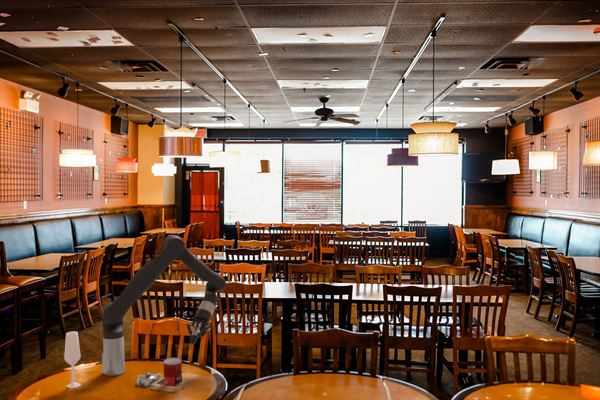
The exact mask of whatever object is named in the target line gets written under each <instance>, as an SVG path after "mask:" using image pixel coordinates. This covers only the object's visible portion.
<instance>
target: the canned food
mask: <svg viewBox="0 0 600 400" xmlns="http://www.w3.org/2000/svg"><path fill="white" fill-rule="evenodd" d="M182 363H183V362H182V359H181V358H178V357H169V358H166V359H164V360H163V377H164V383H163V385H167V386H174V387H175V386H177V385H178V384H180V383H181V382H183V364H182Z"/></svg>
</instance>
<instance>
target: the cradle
mask: <svg viewBox="0 0 600 400" xmlns="http://www.w3.org/2000/svg"><path fill="white" fill-rule="evenodd" d="M189 384H190V379H184V380H182V382H181V383H180V384H178V385H177V386H175V387H174V386H167V385H164V376H163V377H161V378H159V380H157V381H156V382H154V383H152V384H151V385H150V386H149V387H150V389H151V390H156V391H163V392H169V393H170V392H171V393H179V391H181V390H182V389H184V388H185V387H186V386H188V385H189Z"/></svg>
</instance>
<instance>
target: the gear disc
mask: <svg viewBox="0 0 600 400" xmlns="http://www.w3.org/2000/svg"><path fill="white" fill-rule="evenodd" d="M159 379H160V374H158V373H152V372H146V373H145V374H140V375H137V379H136V386H138V387H139V386H143V387H146V388H147V387H150V385H151V384H152V383H154V382H156V381H157V380H159Z"/></svg>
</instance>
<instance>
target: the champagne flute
mask: <svg viewBox="0 0 600 400" xmlns="http://www.w3.org/2000/svg"><path fill="white" fill-rule="evenodd" d="M64 343H65V344H64V346H65V347H64V358H63V359H64V361H65V362H66V364H68V365H70V366H71V370H70V371H71V383H69V384H67V385H66V386H67V387H69V388H75V387H76V389H78V388H77V387H79V386H80V385H81V386H82V383H78V382H76V381H75V380H76V379H75V378H76V377H75V365H76V364H77V363H78V362H79V361H80V359H81V357H82V355H81V349H80V340H79V333H78V331H74V330H73V331H68V332H66V334H65V342H64ZM79 388H80V387H79Z"/></svg>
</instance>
